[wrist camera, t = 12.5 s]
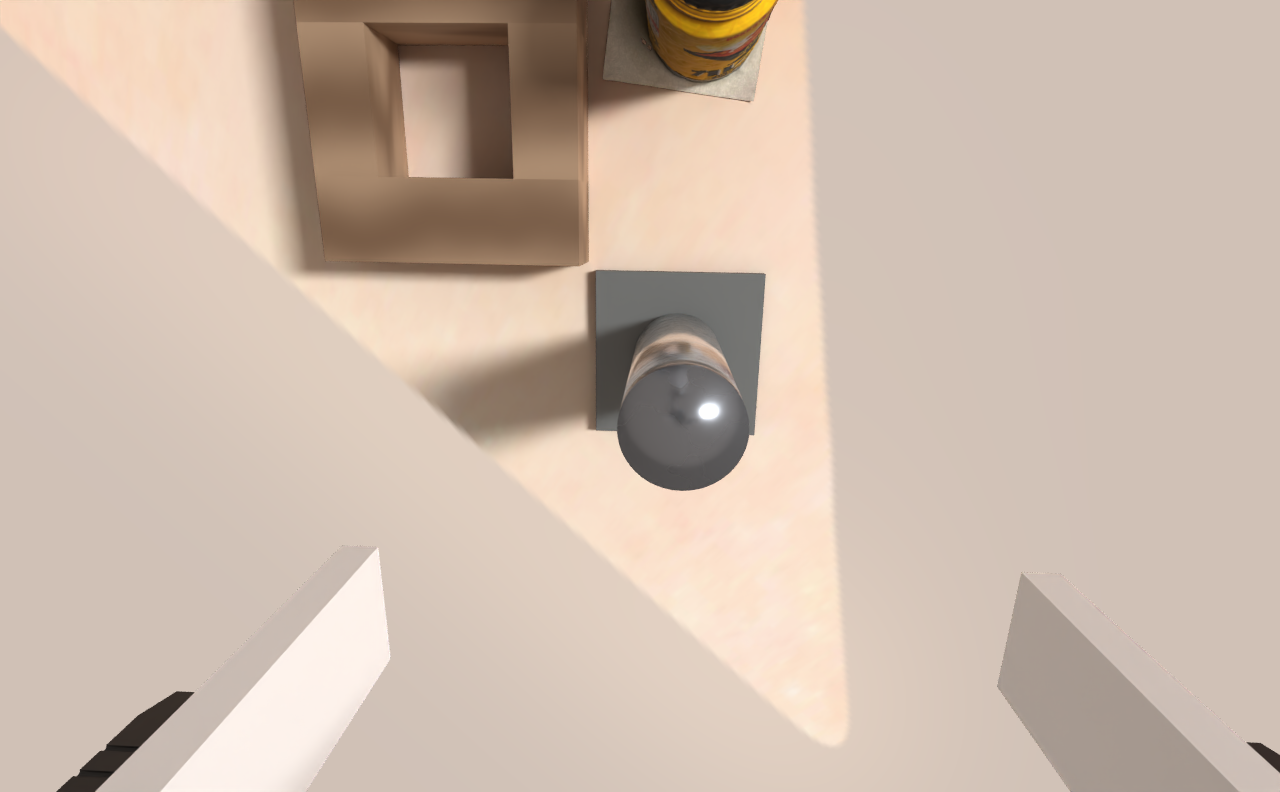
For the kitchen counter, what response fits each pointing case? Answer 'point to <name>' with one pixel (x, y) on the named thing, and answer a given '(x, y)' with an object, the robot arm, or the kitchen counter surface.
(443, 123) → the kitchen counter surface
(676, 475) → the plug
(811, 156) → the kitchen counter surface
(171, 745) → the robot arm
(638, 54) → the condiment
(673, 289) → the mat
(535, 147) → the housing
